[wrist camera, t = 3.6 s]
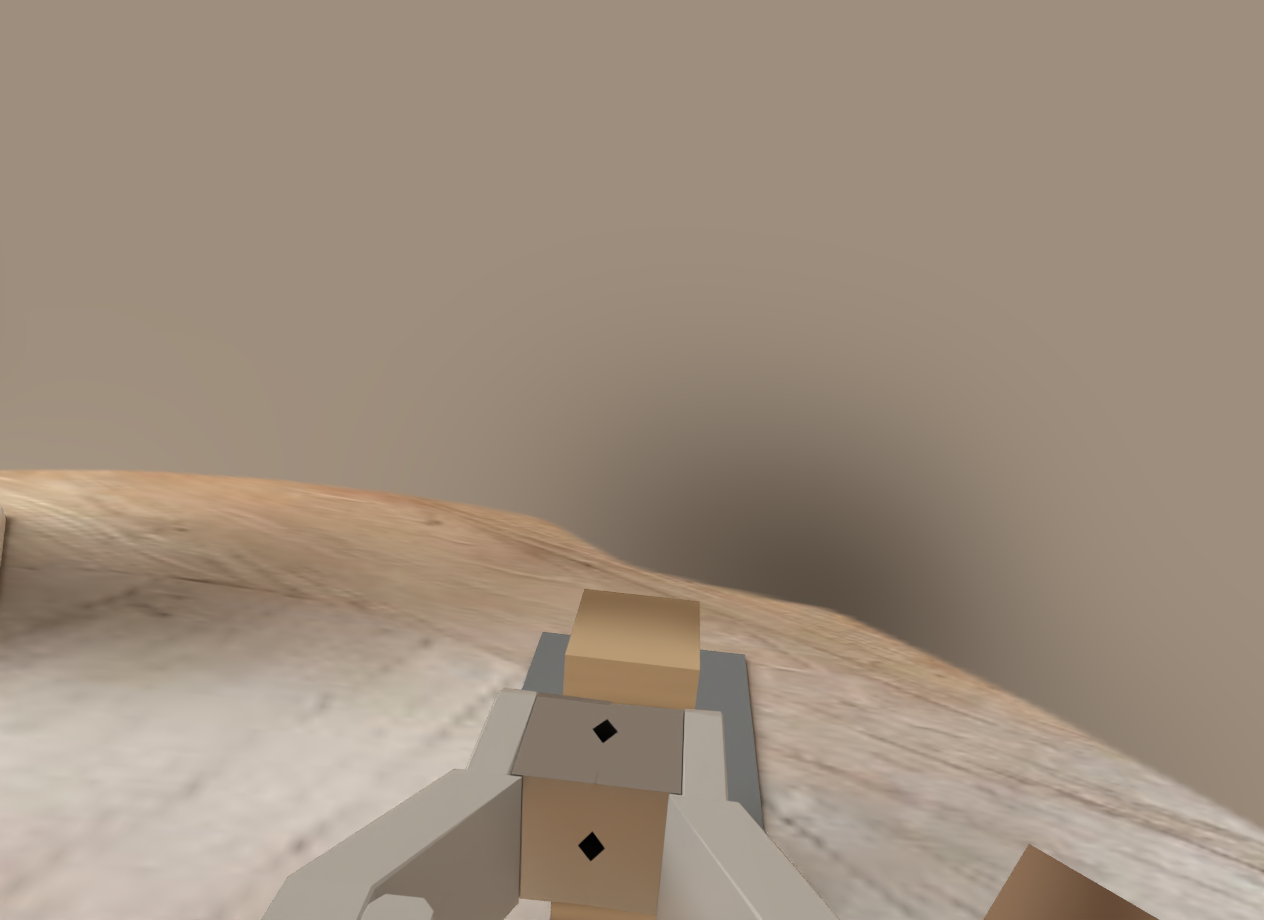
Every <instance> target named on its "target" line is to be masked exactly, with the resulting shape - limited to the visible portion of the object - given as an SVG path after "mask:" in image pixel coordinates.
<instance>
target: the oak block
mask: <svg viewBox="0 0 1264 920" xmlns="http://www.w3.org/2000/svg"><path fill="white" fill-rule="evenodd" d="M699 673H700V618H699V602H698V601H689V600H680V599H671V598H662V597H653V596H644V595H635V594H626V593H617V592H608V591H599V590H590V589H584V592H583V596H582V599H581V602H580V606H579V609H578V613H577V616H576V619H575V623H574V626H573V629H572V633H571V636H570V640H569V643H568V646H567V650H566V653H565V665H564V683H563V695H566V696H574V697H581V698H589V699H596V700H604V701H611V702H614V703H624V704H633V705H643V706H652V707H662V708H671V709H680V710H684V709H695V705H696V697H697V689H698V681H699ZM550 920H656V916H654V915H648V914H641V913H635V912H629V911H622V910H616V909H610V908H603V907H597V906H591V905H583V904H572V903H562V902H552V901H551V916H550Z"/></svg>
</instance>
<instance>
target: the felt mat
mask: <svg viewBox="0 0 1264 920" xmlns="http://www.w3.org/2000/svg"><path fill="white" fill-rule="evenodd" d="M570 636H571V635H565V634H556V633H547V632H543V633H542V636H541V638H540V641H539V644H538V647H537V649H536V652H535V655H534V658H533V660H532V663H531V666H530V669H529V671H528V674H527V677H526V680H525V682H524V685H523V688H522V690H526V691H535V692H538V693H540V692H544V693H551V694H559V695H563V683H564V665H565V653H566V650H567V646H568V643H569V640H570ZM695 709H696V710H709V711H721V713H722V715H723V716H724V734H725V752H726V770H727V788H728V801H732V802H739V803H740V804H741V805H742V806H743V807H744V808H745V809H746V811H747V812H748V813H749V814H750V815H751V816H752V818H753V819H754V820H755V821H756V822H757V823H758V825H759V826H760V827H761V828H762V829H763V831H764V827H763V818H762V809H761V800H760V790H759V781H758V772H757V763H756V754H755V744H754V735H753V726H752V717H751V707H750V698H749V689H748V680H747V670H746V661H745V655H743V654H734V653H725V652H716V651H707V650H700V673H699V681H698V689H697V697H696V705H695Z"/></svg>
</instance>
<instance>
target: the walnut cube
mask: <svg viewBox="0 0 1264 920" xmlns="http://www.w3.org/2000/svg"><path fill="white" fill-rule="evenodd" d="M984 920H1159V919H1157V918H1155V917H1154V916H1152V915H1150V914H1148V913H1147V912H1145V911H1143V910H1142V909H1140V908H1138V907H1136V906H1135V905H1133V904H1131V903H1130V902H1128V901H1126V900H1124V899H1123V898H1121V897H1119V896H1118V895H1116V894H1114V893H1112V892H1111V891H1109V890H1107V889H1106V888H1104V887H1102V886H1100V885H1099V884H1097V883H1095V882H1093V881H1092V880H1090V879H1088V878H1087V877H1085V876H1083V875H1082V874H1080V873H1078V872H1076V871H1075V870H1073V869H1071V868H1069V867H1068V866H1066V865H1064V864H1063V863H1061V862H1059V861H1057V860H1056V859H1054V858H1052V857H1051V856H1049V855H1047V854H1045V853H1044V852H1042V851H1040V850H1039V849H1037V848H1035V847H1033V846H1032V845H1030V844H1029V845H1028V846H1027V848H1026V850H1025V851H1024V853H1023V855H1022V856H1021V858H1020V860H1019V861H1018V863H1017V865H1016V866H1015V868H1014V870H1013V871H1012V873H1011V875H1010V876H1009V878H1008V880H1007V881H1006V883H1005V885H1004V886H1003V888H1002V890H1001V891H1000V893H999V895H998V896H997V898H996V900H995V901H994V903H993V905H992V906H991V908H990V910H989V911H988V913H987V915H986V916H985V918H984Z"/></svg>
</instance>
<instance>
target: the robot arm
mask: <svg viewBox="0 0 1264 920" xmlns="http://www.w3.org/2000/svg"><path fill="white" fill-rule="evenodd" d="M5 524H6V517H5V514H4V511H3V508H2V507H1V506H0V566H1V558H2V550H3V541H4V533H5ZM519 898H520V899H531V900H541V901H552V902H562V903H572V904H583V905H591V906H597V907H603V908H610V909H616V910H622V911H629V912H635V913H641V914H648V915H654V916H656V920H839V919H838V917H837V916H836V915H835V914H834V913H833V912H832V910H831V909H830V908H829V907H828V906H827V904H826V903H825V902H824V901H823V900H822V899H821V897H820V896H819V895H818V894H817V893H816V892H815V890H814V889H813V888H812V887H811V886H810V885H809V883H808V882H807V881H806V880H805V879H804V877H803V876H802V875H801V874H800V873H799V872H798V870H797V869H796V868H795V867H794V866H793V865H792V863H791V862H790V861H789V860H788V859H787V858H786V856H785V855H784V854H783V853H782V852H781V850H780V849H779V848H778V847H777V846H776V845H775V843H774V842H773V841H772V840H771V839H770V838H769V836H768V835H767V834H766V833H765V832H764V831H763V829H762V828H761V827H760V826H759V825H758V823H757V822H756V821H755V820H754V819H753V818H752V816H751V815H750V814H749V813H748V812H747V811H746V809H745V808H744V807H743V806H742V805H741V804H740V803H739V802H732V801H728V788H727V770H726V752H725V734H724V716H723V715H722V713H721V711H709V710H696V709H684V710H680V709H671V708H662V707H652V706H643V705H633V704H624V703H614V702H611V701H604V700H596V699H589V698H581V697H574V696H566V695H559V694H551V693H544V692H540V693H538V692H535V691H526V690H518V689H509V688H503V689H502V690H501V691H500V692H499V693H498V694H497V696H496V698H495V701H494V703H493V705H492V708H491V710H490V712H489V715H488V717H487V720H486V722H485V724H484V727H483V729H482V731H481V734H480V736H479V738H478V741H477V743H476V746H475V748H474V750H473V753H472V755H471V757H470V760H469V762H468V765H467V767H466V769H465V770H460V769H453V770H452V771H450V772H449V773H447V774H446V775H444V776H442V777H441V778H439V779H438V780H436V781H435V782H433V783H432V784H430V785H429V786H427V787H426V788H424V789H422V790H421V791H419V792H418V793H416V794H415V795H413V796H412V797H410V798H409V799H407V800H406V801H404V802H402V803H401V804H399V805H398V806H396V807H395V808H393V809H392V810H390V811H389V812H387V813H386V814H384V815H382V816H381V817H379V818H378V819H376V820H375V821H373V822H372V823H370V824H369V825H367V826H365V827H364V828H362V829H361V830H359V831H358V832H356V833H355V834H353V835H352V836H350V837H349V838H347V839H345V840H344V841H342V842H341V843H339V844H338V845H336V846H335V847H333V848H332V849H330V850H329V851H327V852H325V853H324V854H322V855H321V856H319V857H318V858H316V859H315V860H313V861H312V862H310V863H309V864H307V865H305V866H304V867H302V868H301V869H299V870H298V871H296V872H295V873H293V874H292V875H290V876H289V877H287V879H286V881H285V882H284V884H283V885H282V887H281V889H280V890H279V892H278V893H277V895H276V897H275V898H274V900H273V901H272V903H271V904H270V906H269V908H268V909H267V911H266V912H265V914H264V916H263V917H262V919H261V920H503V919H504V918H505V917H506V916H507V915H508V914H509V913H510V912H511V910H512V909H513V908H514V907H515V906H516V905H517V904H518V903H519Z"/></svg>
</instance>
